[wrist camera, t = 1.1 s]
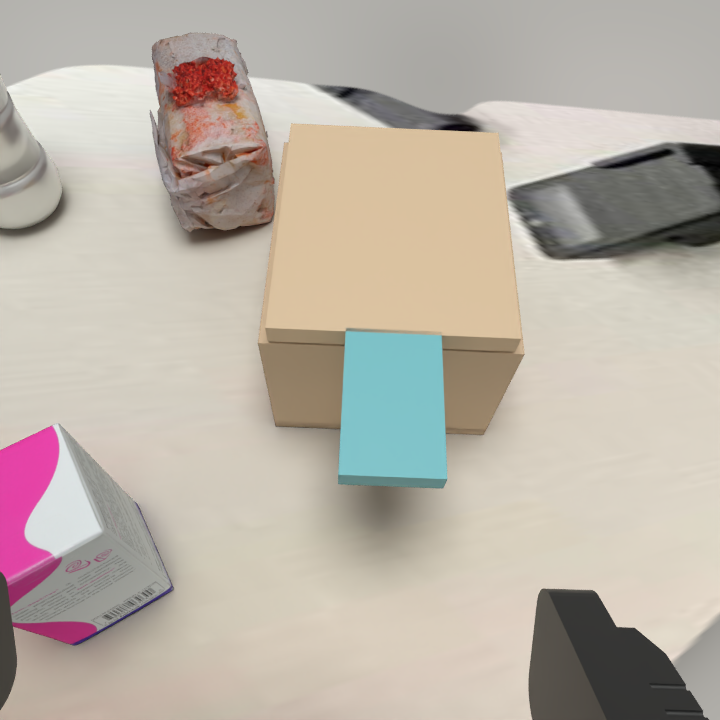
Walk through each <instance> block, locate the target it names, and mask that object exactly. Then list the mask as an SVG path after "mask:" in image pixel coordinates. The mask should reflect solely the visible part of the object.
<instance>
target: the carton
mask: <svg viewBox="0 0 720 720" xmlns="http://www.w3.org/2000/svg"><path fill="white" fill-rule="evenodd" d="M288 144H289V143H284V148H283V156H282V163H281V171H280V179H279V186H278V194H277V201H276V209H275V217H274V224H273V232H272V240H271V247H270V255H269V262H268V270H267V278H266V285H265V293H264V301H263V308H262V316H261V324H260V331H259V339H258V346H259V350H260V355H261V360H262V364H263V369H264V374H265V378H266V383H267V388H268V392H269V397H270V402H271V406H272V411H273V416H274V421H275V425H276V426H282V427H307V428H331V429H341V413H342V393H343V373H344V353H345V345H343V344H320V343H296V342H273V341H268V339H267V334H266V329H265V327H266V319H267V311H268V303H269V295H270V287H271V279H272V271H273V263H274V255H275V247H276V239H277V231H278V223H279V216H280V208H281V200H282V192H283V184H284V176H285V168H286V160H287V152H288ZM501 161H502V152H501ZM502 170H503V161H502ZM503 179H504V188H505V197H506V205H507V196H506V187H505V178H504V170H503ZM507 214H508V205H507ZM508 223H509V232H510V241H511V250H512V259H513V268H514V277H515V285H516V294H517V303H518V312H519V321H520V330H521V341H520V343H519V345H518V347H517V349H516V351H515V352H508V351H485V350H461V349H442V357H443V382H444V408H445V433H453V434H477V435H484V433H485V431H486V429H487V427H488V425H489V423H490V421H491V419H492V417H493V415H494V413H495V411H496V409H497V407H498V405H499V403H500V401H501V399H502V397H503V396H504V394H505V392H506V390H507V388H508V386H509V384H510V382H511V380H512V378H513V376H514V374H515V372H516V370H517V368H518V366H519V364H520V362H521V360H522V358H523V356H524V346H523V337H522V328H521V319H520V310H519V302H518V293H517V284H516V275H515V266H514V258H513V249H512V240H511V231H510V222H509V214H508Z"/></svg>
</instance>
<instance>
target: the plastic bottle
mask: <svg viewBox="0 0 720 720" xmlns="http://www.w3.org/2000/svg"><path fill="white" fill-rule="evenodd" d="M61 194H62V185H61V181H60V177H59V173H58V170H57V167H56V165H55V164H54V162H53V161H52V159H51V158H50V156H49V155H48V154H47V152H46V151H45V149H44V148H43V147H42V146H41V145H40V143H39V142H38V141H37V140H35V138H34V136H33V135H32V133H31V132H30V130H29V128H28V127H27V125H26V124H25V122H24V120H23V119H22V117H21V116H20V114H19V113H18V111H17V109H16V108H15V106H14V104H13V101H12V99H11V97H10V95H9V93H8V91H7V89H6V86H5V84H4V81H3V79H2V77H1V75H0V228H5V229H21V228H26V227H30V226H33V225H35V224H38V223H40V222H41V221H43V220H45V219H46V218H47V217H49V216H50V215H51V214H52V213H53V212H54V210H55V209H56V207H57V206H58V203H59V200H60V198H61Z"/></svg>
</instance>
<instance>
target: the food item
mask: <svg viewBox="0 0 720 720" xmlns="http://www.w3.org/2000/svg"><path fill="white" fill-rule="evenodd" d="M152 60H153V63H154V71H155V82H156V91H157V96H158V100H159V105H160V108H159V110H158V128H157V126H156V123H155V120H154V117H153V115H152V112H151V110H150V118H151V122H152V128H153V138H154V143H155V151H156V155H157V160H158V164H159V168H160V171H161V175H162V180H163V182H164V185H165V187H166V188H167V190H168V192H169V194H170V196H171V199H170V200H171V204H172V206H173V209H174V211H175V213H176V215H177V217H178V219H179V221H180V223H181V226H182V227H183V228H184V229H185V230H186V231H189V232H191V231H192V230H193V229H200V228H204V229H211V228H217V229H221V230H229V229H235V228H237V227H238V226H250V225H258V224H263V223H267V222H271V217H272V216H273V210H274V189H273V184H275V183H274V178H273V174H272V172H273V170H272V159H271V154H270V149H269V145H268V140H267V138H268V136H267V131H266V132H265V129H264V125H263V122H262V118H261V114H260V110H259V107H258V104H257V101H256V98H255V96H254V93H253V90H252V87H251V84H250V81H249V79H248V77H247V73H248V70H247V67H246V63H245V61H244V60H243V58H242V57H241V53H240V52H239V50H238V48H237V41H236V40H234V39H232V40H231V39H230V38H227V37H225V36H224V35H218V34H209V33H188V34H185V35H182V36H175V37H171V38H167V39H162V40H159V41H158V42H156V43H155V44H154V45H153V47H152Z"/></svg>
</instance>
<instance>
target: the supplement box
mask: <svg viewBox="0 0 720 720" xmlns="http://www.w3.org/2000/svg"><path fill="white" fill-rule="evenodd" d="M0 572H2V573H3V575H4V576H5V578H6V581H7V585H8V593H9V601H10V608H11V616H12V624H13V627H16V628H20V629H23V630H26V631H30V632H33V633H36V634H39V635H43V636H46V637H49V638H53V639H56V640H59V641H62V642H65V643H68V644H71V645H77V644H80V643H82V642H83V641H85V640H87V639H89V638H90V637H92V636H94V635H96V634H98V633H100V632H101V631H103V630H105V629H107V628H108V627H110V626H112V625H114V624H115V623H117V622H119V621H121V620H122V619H124V618H126V617H127V616H129V615H131V614H133V613H134V612H136V611H138V610H140V609H141V608H143V607H145V606H146V605H148V604H150V603H151V602H153V601H155V600H156V599H158V598H160V597H161V596H163V595H165V594H167V593H168V592H170V591H172V590H173V586H172V584H171V581H170V579H169V577H168V574H167V572H166V570H165V567H164V565H163V562H162V560H161V558H160V555H159V553H158V551H157V548H156V546H155V544H154V541H153V539H152V537H151V534H150V532H149V530H148V528H147V525H146V523H145V521H144V518H143V516H142V514H141V511H140V509H139V507H138V505H137V503H136V502H135V501H133V500H132V498H131V497H130V496H129V495H128V494H127V493H126V492H124V491H123V490H122V488H121V487H120V486H119V485H118V484H117V483H116V482H115V481H114V480H113V479H112V478H111V477H110V476H109V475H108V474H107V473H106V472H105V471H104V470H103V469H102V468H101V467H100V466H99V464H98V463H97V462H96V461H95V460H94V459H93V458H92V457H91V456H90V455H89V454H88V453H87V452H86V451H85V450H84V449H83V448H82V447H81V446H80V445H79V444H78V443H77V442H76V441H75V439H74V438H73V437H72V436H71V435H70V434H69V433H68V432H67V431H66V430H65V429H64V428H63V427H62V426H61V425H60V424H58V423H57V424H54V425H52V426H50V427H48V428H46V429H44V430H41V431H39V432H38V433H36V434H33V435H31V436H29V437H27V438H25V439H23V440H21V441H19V442H17V443H14V444H12V445H10V446H8V447H6V448H4V449H2V450H0Z"/></svg>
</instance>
